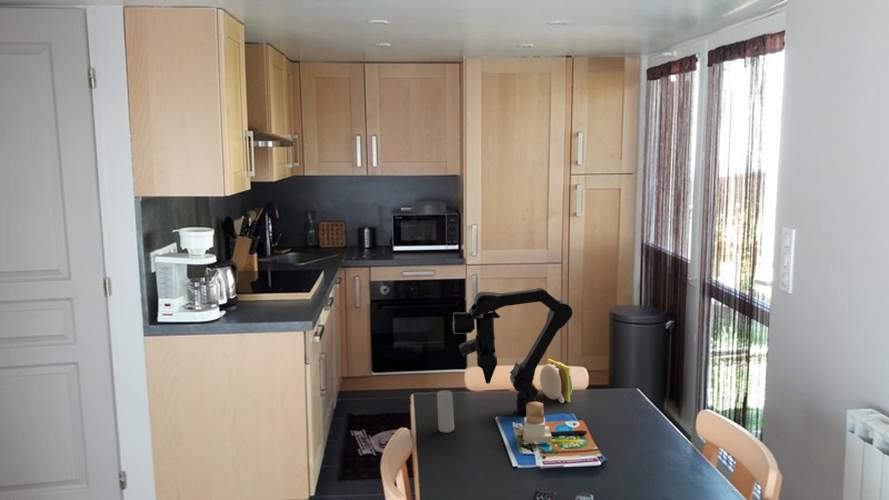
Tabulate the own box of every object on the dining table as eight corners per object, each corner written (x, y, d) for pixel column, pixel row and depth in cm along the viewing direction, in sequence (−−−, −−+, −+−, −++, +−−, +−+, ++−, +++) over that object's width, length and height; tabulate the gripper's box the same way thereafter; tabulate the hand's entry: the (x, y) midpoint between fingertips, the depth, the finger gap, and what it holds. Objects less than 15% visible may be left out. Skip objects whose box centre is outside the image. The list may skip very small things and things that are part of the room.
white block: (525, 426, 212) (524, 417, 211) (545, 426, 211) (544, 417, 211) (524, 434, 206) (523, 424, 206) (545, 434, 205) (544, 424, 205)
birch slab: (522, 436, 213) (521, 426, 212) (548, 435, 212) (548, 425, 212) (524, 446, 205) (523, 437, 204) (551, 446, 204) (551, 436, 204)
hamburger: (535, 395, 247) (534, 361, 245) (555, 390, 250) (555, 357, 249) (555, 405, 236) (554, 370, 234) (575, 400, 239) (574, 366, 238)
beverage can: (452, 433, 215) (450, 395, 214) (437, 432, 216) (435, 395, 215) (455, 427, 220) (453, 390, 219) (440, 427, 221) (438, 390, 220)
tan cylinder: (533, 416, 211) (533, 400, 211) (547, 420, 208) (546, 404, 207) (523, 421, 208) (522, 405, 207) (536, 425, 204) (536, 409, 204)
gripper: (460, 326, 236) (462, 371, 238) (460, 340, 217) (462, 389, 219) (493, 324, 235) (495, 370, 237) (496, 338, 217) (498, 387, 219)
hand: (487, 379), depth 228 cm, fingers open, 9 cm apart
